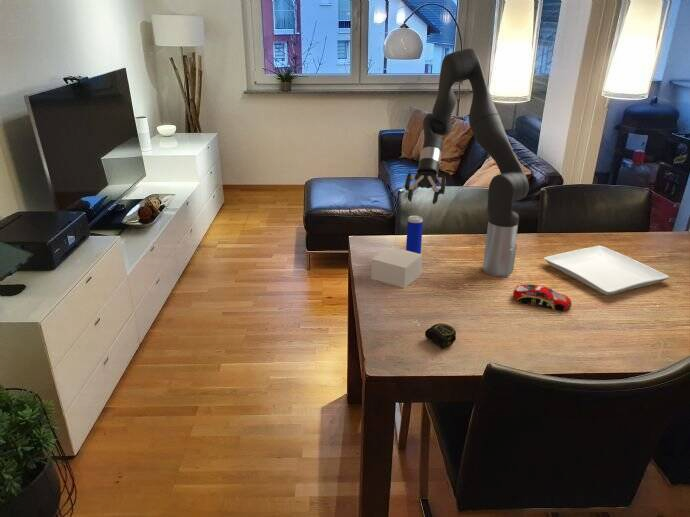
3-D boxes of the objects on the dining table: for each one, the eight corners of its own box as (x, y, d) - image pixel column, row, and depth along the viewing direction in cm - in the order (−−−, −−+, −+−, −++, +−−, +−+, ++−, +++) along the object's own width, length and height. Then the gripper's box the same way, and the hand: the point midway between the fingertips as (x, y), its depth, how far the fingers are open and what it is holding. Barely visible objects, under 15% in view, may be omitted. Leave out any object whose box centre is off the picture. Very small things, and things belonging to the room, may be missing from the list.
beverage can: (420, 255, 186) (422, 215, 180) (420, 261, 182) (423, 220, 176) (405, 254, 187) (407, 214, 181) (405, 260, 182) (407, 220, 176)
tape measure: (423, 339, 138) (424, 327, 136) (442, 331, 141) (443, 319, 140) (441, 352, 133) (442, 339, 131) (460, 343, 136) (462, 331, 135)
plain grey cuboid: (421, 273, 173) (422, 254, 170) (404, 288, 164) (405, 267, 161) (389, 265, 179) (390, 246, 176) (371, 278, 170) (371, 259, 167)
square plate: (606, 303, 156) (609, 291, 154) (540, 266, 179) (542, 256, 177) (668, 285, 166) (671, 274, 164) (598, 253, 189) (600, 243, 187)
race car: (571, 304, 155) (574, 289, 153) (569, 314, 150) (572, 299, 148) (514, 292, 162) (517, 278, 160) (510, 302, 156) (513, 287, 154)
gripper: (409, 155, 191) (400, 195, 185) (448, 158, 186) (441, 199, 181) (411, 166, 197) (403, 204, 192) (449, 169, 193) (442, 208, 188)
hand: (421, 201), depth 187 cm, fingers open, 8 cm apart
